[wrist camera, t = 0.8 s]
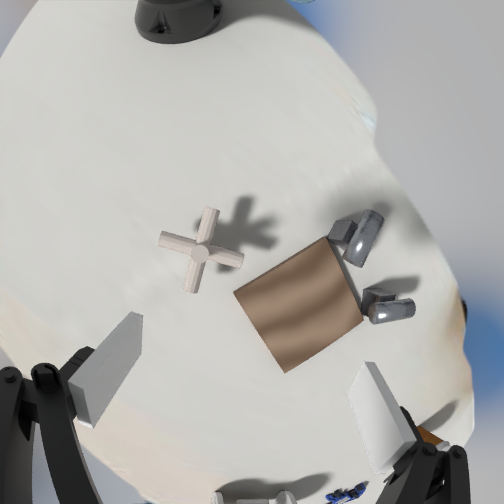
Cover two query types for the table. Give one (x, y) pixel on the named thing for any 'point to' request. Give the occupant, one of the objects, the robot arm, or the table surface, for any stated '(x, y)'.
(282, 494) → the valve
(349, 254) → the grey capsule on block
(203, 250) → the pipe connector
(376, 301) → the dark grey piece
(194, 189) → the table surface
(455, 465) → the robot arm
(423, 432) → the disposable coffee cup
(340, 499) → the bar clamp
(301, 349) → the mounting pad
